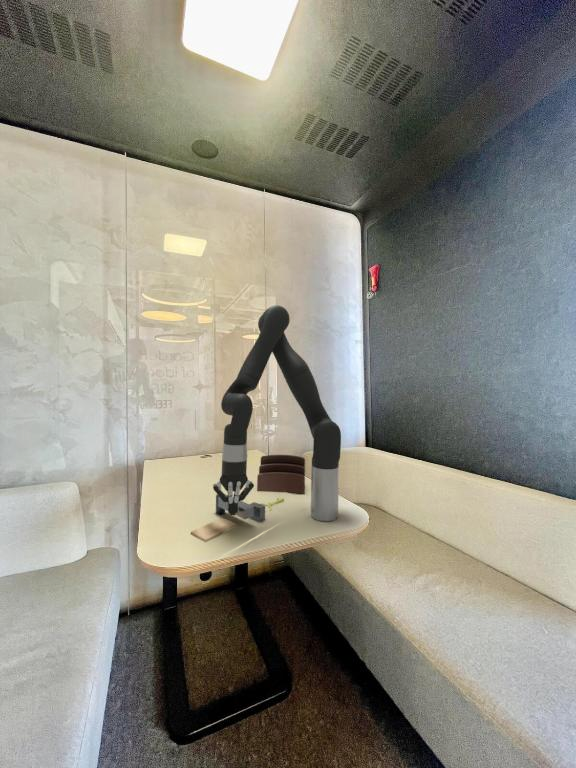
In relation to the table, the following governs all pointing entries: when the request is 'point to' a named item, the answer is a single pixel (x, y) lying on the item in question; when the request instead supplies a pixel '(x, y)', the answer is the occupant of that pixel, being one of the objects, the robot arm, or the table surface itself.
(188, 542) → the table surface
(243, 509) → the grey handle
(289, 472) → the letter holder
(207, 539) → the brown rectangular panel
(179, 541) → the table surface
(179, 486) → the table surface
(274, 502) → the key
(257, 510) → the block
